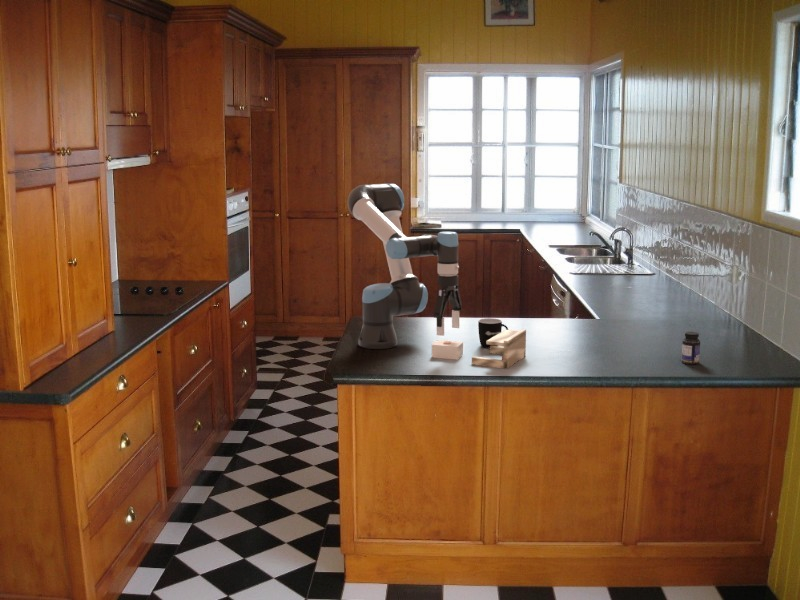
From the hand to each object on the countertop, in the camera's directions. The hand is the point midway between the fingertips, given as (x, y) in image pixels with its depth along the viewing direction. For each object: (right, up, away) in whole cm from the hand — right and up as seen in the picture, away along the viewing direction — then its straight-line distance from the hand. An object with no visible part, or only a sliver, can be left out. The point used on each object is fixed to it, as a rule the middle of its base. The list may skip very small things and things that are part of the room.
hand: (448, 331), depth 326 cm
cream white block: (0, -9, +2) cm, 10 cm away
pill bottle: (+86, -11, -8) cm, 88 cm away
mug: (+18, -6, +16) cm, 25 cm away
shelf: (+18, -10, -4) cm, 21 cm away
